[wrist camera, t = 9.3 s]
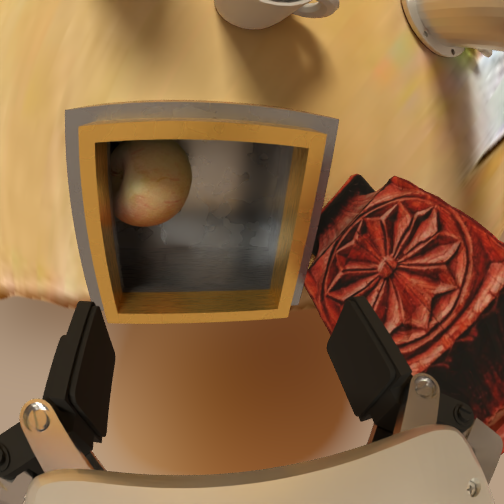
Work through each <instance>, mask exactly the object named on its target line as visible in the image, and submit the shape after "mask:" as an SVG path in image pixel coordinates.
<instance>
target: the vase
mask: <svg viewBox="0 0 504 504" xmlns="http://www.w3.org/2000/svg"><path fill="white" fill-rule="evenodd" d="M312 254H314V255H315V256H316V258H315V260H314V262H313V263H312V265H311V266H310V268H309V269H308V270H307V274H306V278H305V282H304V286H305V288H306V290H307V291H308V293H309V295H310V297H311V298H312V300H313V302H314V304H315V306H316V308H317V310H318V312H319V314H320V317H321V318H322V320H323V322H324V323H325V326H326V327H327V329H328V331H329V333H330V335H331V334H332V332H333V330H334V327H335V325H336V323H337V320H338V318H339V316H340V313H341V311H342V309H343V306H344V304H345V302H346V301H348V299H349V298H350V297H356V296H364V297H365V298H366V299H367V300H368V302H369V303H370V305H371V306H372V308H373V309H374V311H375V312H376V314H377V315H378V317H379V318H380V320H381V321H382V323H383V325H384V326H385V328H386V329H387V331H388V332H389V334H390V335H391V337H392V339H393V340H394V342H395V343H396V345H397V347H398V348H399V350H400V351H401V353H402V355H403V356H404V358H405V360H406V361H407V363H408V365H409V366H410V368H411V370H412V371H413V372H412V373H411V374H412V375H413V376H414V375H416V374H418V373H426V374H428V375H430V376H432V377H433V378H434V379H435V380H436V381H437V383H438V385H439V388H440V393H443V394H445V395H447V396H450V397H452V398H454V399H457V400H459V401H462V402H464V403H466V404H467V405H468V406H469V407H470V408H471V409H472V411H473V414H474V419H476V418H478V419H479V420H480V421H482V422H483V423H484V424H485V425H487V426H488V427H489V428H490V429H492V430H493V431H494V432H495V433H497V434H498V435H499V436H500V437H501V439H502V441H503V449H502V453H501V454H503V453H504V243H503V242H501V241H499V240H498V239H497V238H496V237H495V236H494V235H493V234H492V233H491V232H489V231H488V230H487V229H486V228H484V227H483V226H482V225H481V224H479V223H478V222H477V221H476V220H474V219H473V218H471V217H469V216H468V215H466V214H465V213H463V212H462V211H461V210H458V209H456V208H454V207H452V206H450V205H449V204H447V203H446V202H445V201H443V200H442V199H441V198H439V197H437V196H435V195H433V194H431V193H429V192H426V191H424V190H423V189H421V188H419V187H417V186H416V185H414V184H413V183H411V182H410V181H407V180H405V179H402V178H399V177H397V176H393V177H392V178H391V179H389V181H388V182H387V184H385V185H384V186H383V187H382V188H381V189H379V190H378V191H376V192H375V191H374V190H373V188H372V187H371V186H370V185H369V184H368V183H367V182H366V180H365V179H364V178H363V177H362V176H361V175H359V174H355V175H352V176H350V178H349V179H348V180H347V182H346V183H345V184H344V185H343V186H342V188H341V189H340V190H339V191H338V192H337V193H336V195H335V196H334V197H333V198H332V199H331V200H330V201H329V202H328V204H327V205H326V206H325V207H324V208H323V209H322V211H321V215H320V220H319V224H318V229H317V233H316V237H315V241H314V246H313V250H312Z"/></svg>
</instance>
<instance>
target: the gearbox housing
mask: <svg viewBox="0 0 504 504" xmlns="http://www.w3.org/2000/svg"><path fill="white" fill-rule="evenodd" d="M338 123H339V119H335V118H331V117H327V116H323V115H318V114H313V113H309V112H304V111H298V110H293V109H287V108H280V107H272V106H264V105H255V104H245V103H233V102H218V101H194V100H155V101H131V102H117V103H106V104H98V105H92V106H85V107H80V108H74V109H69V110H65V141H66V160H67V173H68V184H69V193H70V201H71V208H72V215H73V221H74V227H75V233H76V239H77V244H78V249H79V254H80V258H81V263H82V267H83V271H84V276H85V280H86V283H87V287H88V291H89V295H90V298H91V302H94V303H95V305H96V306H99V307H100V309H101V310H104V311H105V314H106V318H107V321H108V323H133V324H135V323H136V324H145V323H146V324H163V323H164V324H165V323H208V322H229V321H247V320H263V319H276V318H287V317H288V314H289V311H290V307H291V305H298V304H299V301H300V297H301V293H302V289H303V286H304V282H305V278H306V274H307V270H308V266H309V262H310V258H311V254H312V250H313V246H314V241H315V237H316V233H317V229H318V224H319V220H320V215H321V211H322V206H323V202H324V197H325V192H326V187H327V182H328V178H329V172H330V167H331V162H332V157H333V152H334V146H335V141H336V135H337V129H338ZM155 139H172V140H174V141H175V142H177V143H178V144H179V145H180V146H181V147H182V148H183V150H184V151H185V152H186V154H187V157H188V159H189V162H190V165H191V170H192V183H191V188H190V191H189V195H188V197H187V200H186V202H185V204H184V206H183V207H182V209H181V210H180V211H179V212H178V213H177V214H176V215H175V216H174V217H172V218H171V219H170V220H168V221H166V222H164V223H162V224H159V225H155V226H148V227H138V226H133V225H129V224H126V223H124V222H122V221H121V220H119V219H118V218H117V217H116V216H115V215H114V209H113V197H112V182H111V158H110V156H111V154H112V152H113V150H114V149H115V148H116V147H117V146H118V145H119V144H120V143H121V142H122V141H126V140H155Z"/></svg>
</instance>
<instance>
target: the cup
mask: <svg viewBox="0 0 504 504" xmlns="http://www.w3.org/2000/svg"><path fill="white" fill-rule="evenodd" d="M310 1H312V0H214V4H215V7H216V9H217V11H218V13H219V14H220V15H221V16H222V17H223V18H224V19H225V20H226V21H228V22H229V23H231V24H232V25H235V26H238V27H240V28H245V29H251V30H252V29H263V28H267V27H271V26H273V25H274V24H276V23H278V22H280V21H282V20H283V19H284V18H286V17H287V16H289V15H290V14H295V15H298V16H302V17H308V18H323V17H327V16H329V15H331V14H332V13H334V12H335V11H336V10H337V9H338V8H339V0H317V1H318V2H316V3H310V4H309V2H310Z"/></svg>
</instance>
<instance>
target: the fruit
mask: <svg viewBox="0 0 504 504" xmlns="http://www.w3.org/2000/svg"><path fill="white" fill-rule="evenodd" d="M110 158H111V182H112V197H113V209H114V215H115V216H116V217H117V218H118V219H119V220H121V221H122V222H124V223H126V224H129V225H133V226H138V227H148V226H155V225H159V224H162V223H164V222H166V221H168V220H170V219H171V218H172V217H174V216H175V215H176V214H177V213H178V212H179V211H180V210H181V209H182V207H183V206H184V204H185V202H186V200H187V197H188V195H189V191H190V188H191V183H192V170H191V165H190V162H189V159H188V157H187V154H186V152H185V151H184V150H183V148H182V147H181V146H180V145H179V144H178V143H177V142H175V141H174V140H172V139H155V140H126V141H122V142H121V143H120V144H119V145H118V146H117V147H116V148H115V149H114V150H113V152H112V154H111V156H110Z"/></svg>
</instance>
